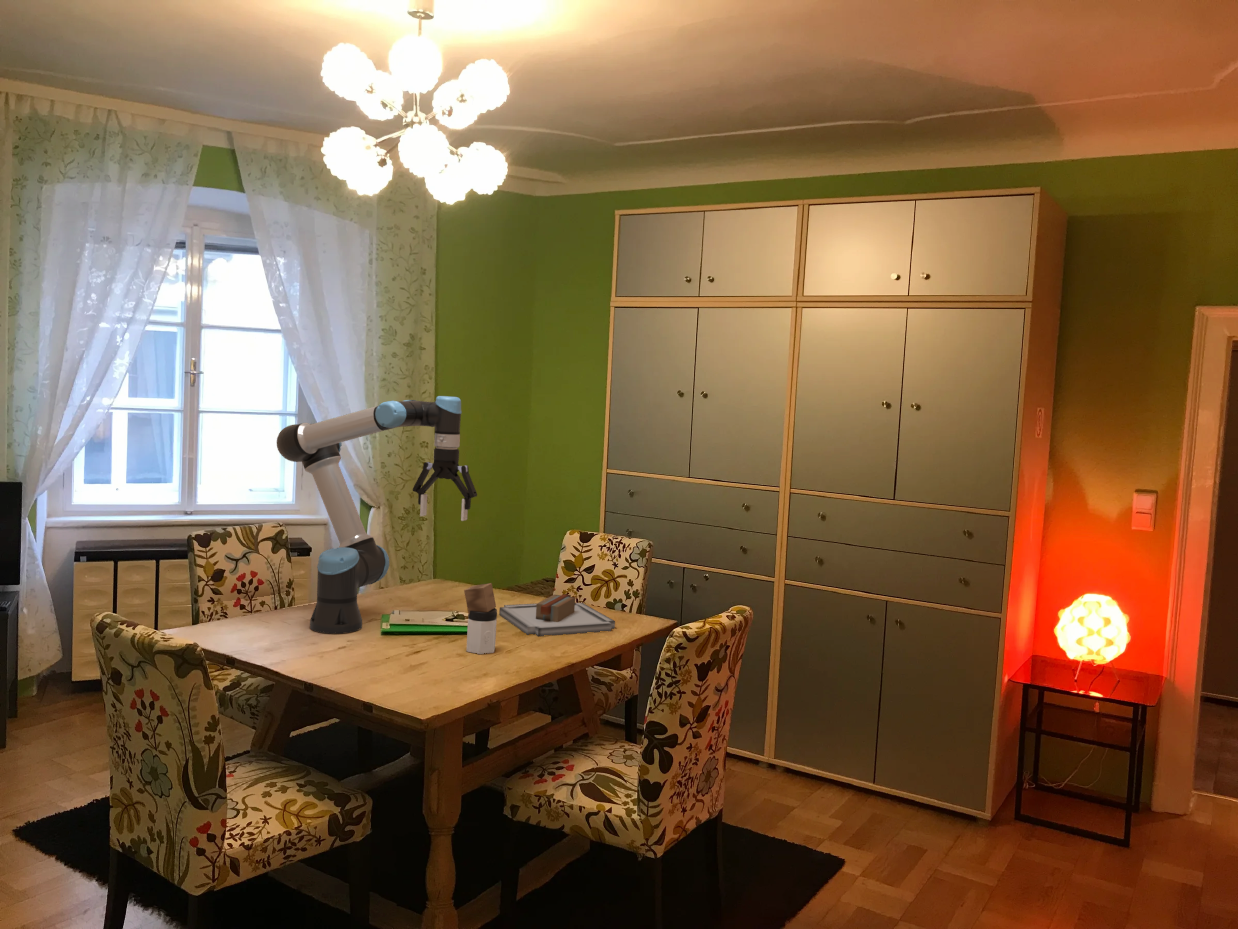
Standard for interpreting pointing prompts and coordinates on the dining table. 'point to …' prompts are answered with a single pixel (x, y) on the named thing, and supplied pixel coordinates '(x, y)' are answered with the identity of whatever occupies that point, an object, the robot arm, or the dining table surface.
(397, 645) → the dining table surface
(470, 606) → the walnut block
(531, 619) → the grey tray
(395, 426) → the robot arm
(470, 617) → the jar
